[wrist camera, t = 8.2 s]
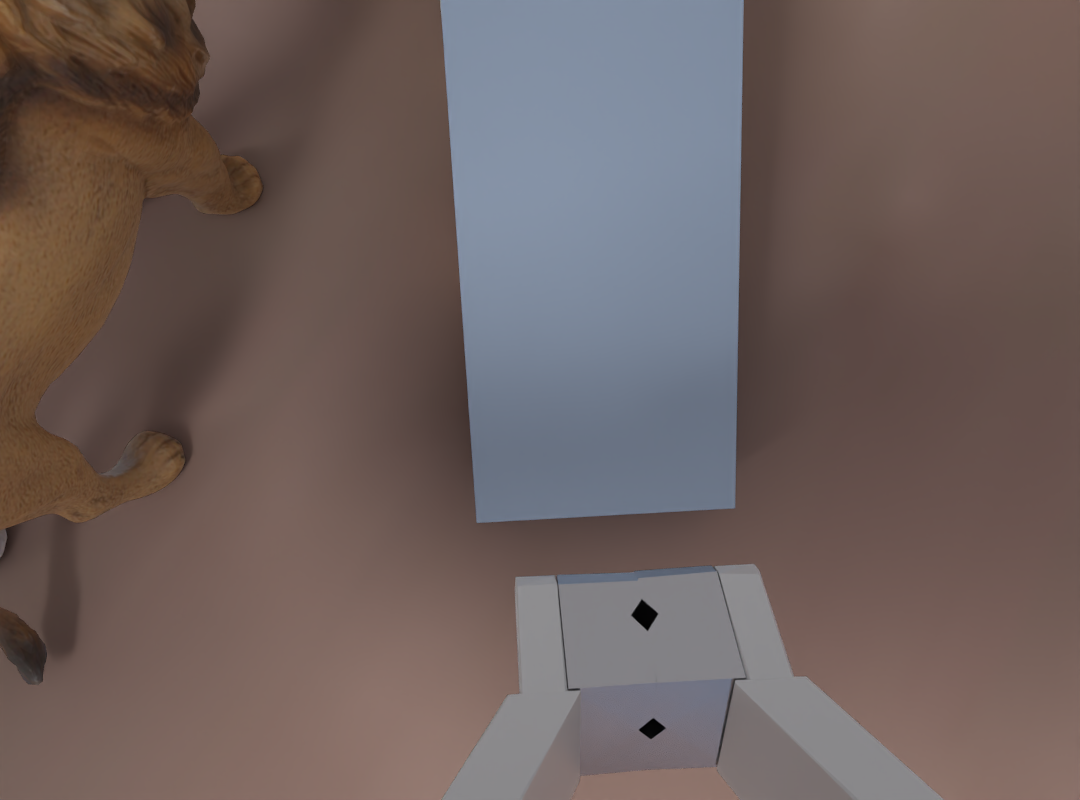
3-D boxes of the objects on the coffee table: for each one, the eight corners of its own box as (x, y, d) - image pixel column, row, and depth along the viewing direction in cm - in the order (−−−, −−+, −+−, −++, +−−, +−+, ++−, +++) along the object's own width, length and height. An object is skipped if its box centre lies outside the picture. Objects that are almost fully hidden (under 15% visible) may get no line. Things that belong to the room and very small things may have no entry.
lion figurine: (63, -16, 20) (-313, -433, 11) (303, 17, 20) (124, -372, 11) (-73, 661, 18) (-640, 821, 9) (187, 696, 18) (-130, 889, 9)
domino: (476, 522, 17) (436, -49, 15) (478, 491, 19) (443, -31, 16) (735, 508, 17) (744, -61, 15) (716, 478, 19) (721, -42, 16)
